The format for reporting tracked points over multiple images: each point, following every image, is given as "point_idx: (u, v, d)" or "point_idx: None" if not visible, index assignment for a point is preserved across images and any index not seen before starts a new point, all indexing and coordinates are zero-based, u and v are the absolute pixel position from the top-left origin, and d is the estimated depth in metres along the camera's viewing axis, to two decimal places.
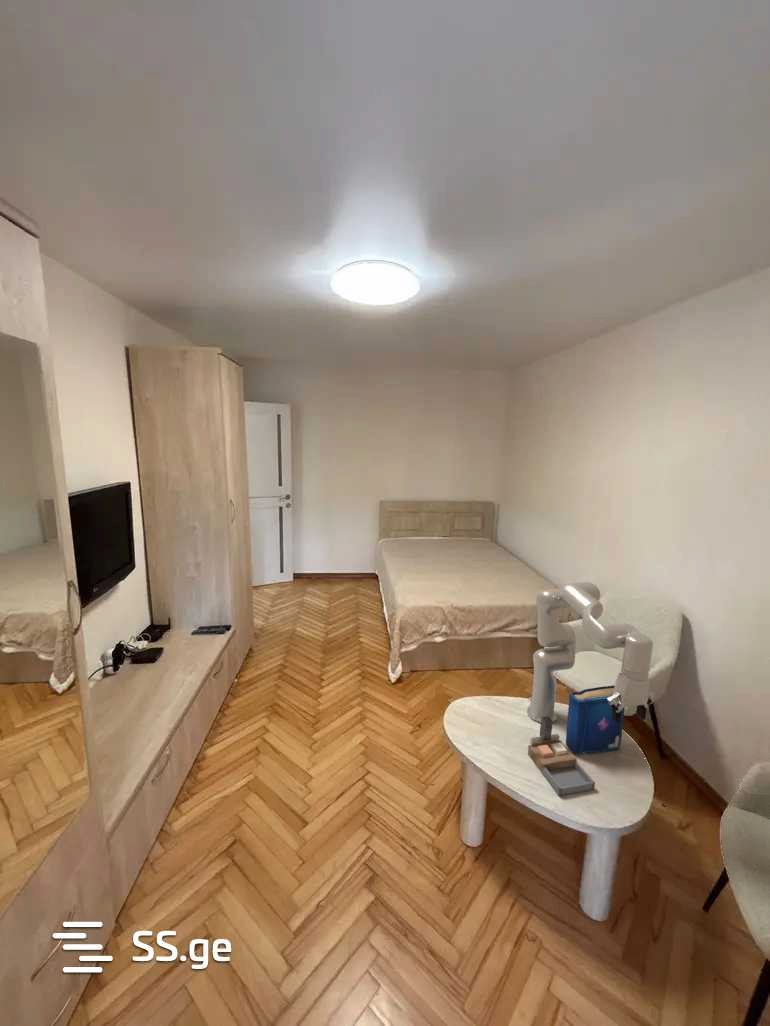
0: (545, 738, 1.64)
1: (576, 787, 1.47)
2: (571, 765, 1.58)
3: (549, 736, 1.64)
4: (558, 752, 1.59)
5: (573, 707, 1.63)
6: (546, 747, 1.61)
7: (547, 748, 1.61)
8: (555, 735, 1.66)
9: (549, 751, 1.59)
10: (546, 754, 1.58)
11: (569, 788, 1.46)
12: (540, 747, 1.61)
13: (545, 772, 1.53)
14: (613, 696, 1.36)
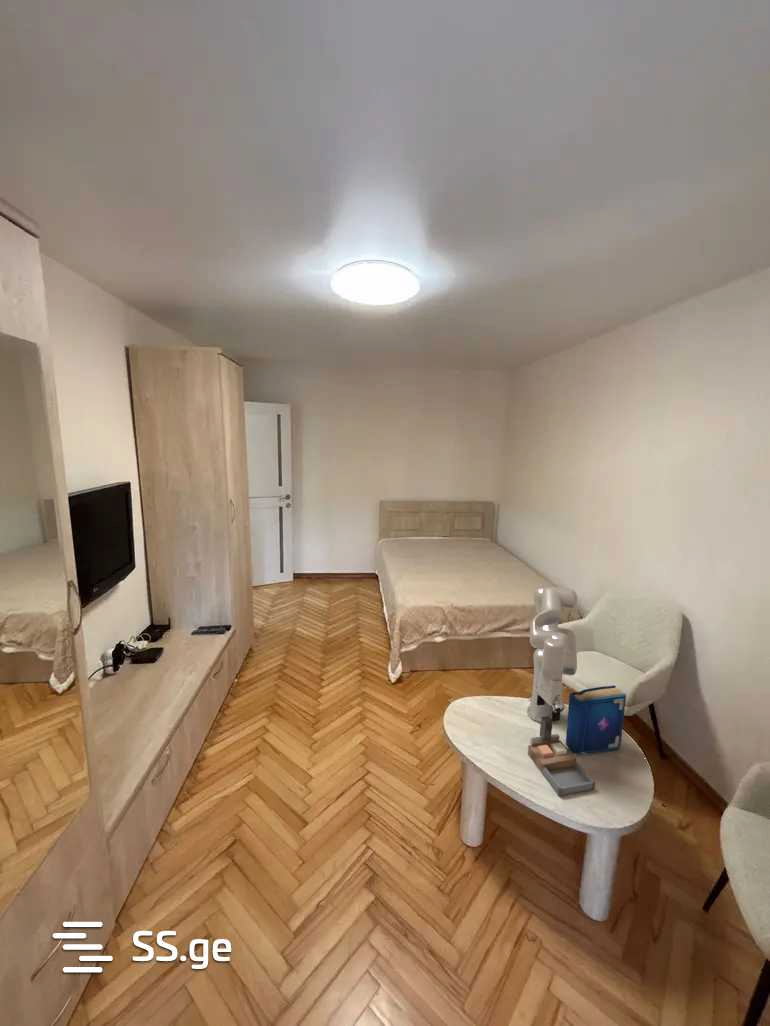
0: (545, 738, 1.64)
1: (576, 787, 1.47)
2: (571, 765, 1.58)
3: (549, 736, 1.64)
4: (558, 752, 1.59)
5: (573, 707, 1.63)
6: (546, 747, 1.61)
7: (547, 748, 1.61)
8: (555, 735, 1.66)
9: (549, 751, 1.59)
10: (546, 754, 1.58)
11: (569, 788, 1.46)
12: (540, 747, 1.61)
13: (545, 772, 1.53)
14: (561, 701, 1.54)
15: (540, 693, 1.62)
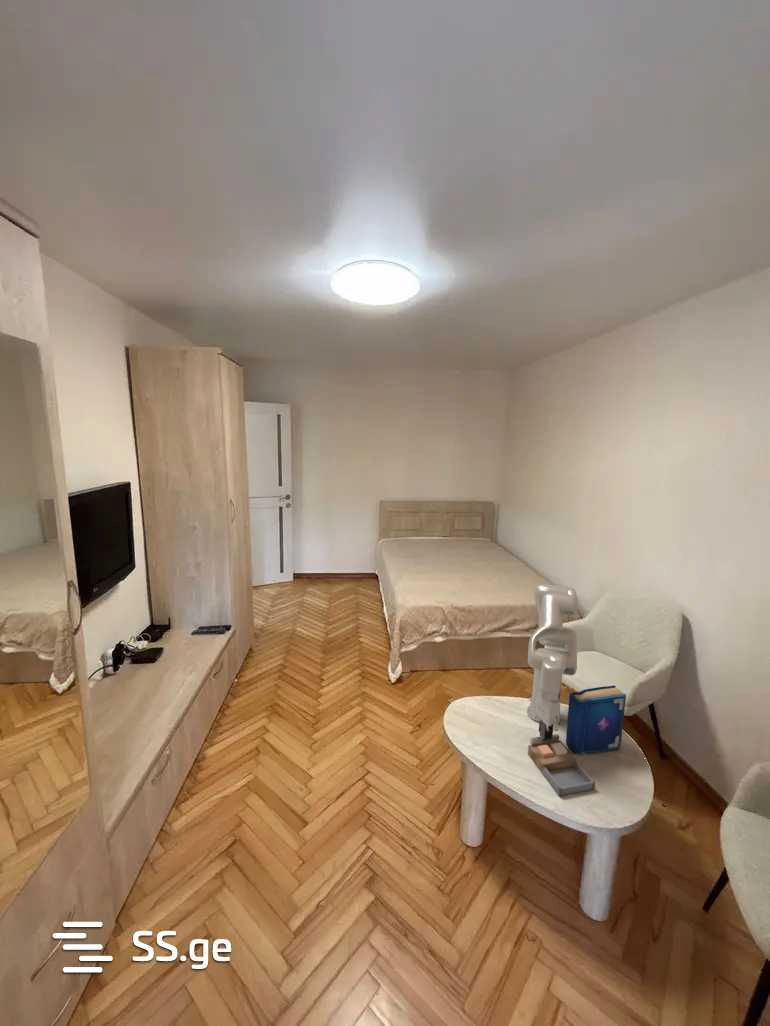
0: None
1: (576, 787, 1.47)
2: (571, 765, 1.58)
3: None
4: (558, 752, 1.59)
5: (573, 707, 1.63)
6: (546, 747, 1.61)
7: (547, 748, 1.61)
8: (555, 735, 1.66)
9: (549, 751, 1.59)
10: (546, 754, 1.58)
11: (569, 788, 1.46)
12: (540, 747, 1.61)
13: (545, 772, 1.53)
14: (556, 724, 1.58)
15: (538, 713, 1.64)
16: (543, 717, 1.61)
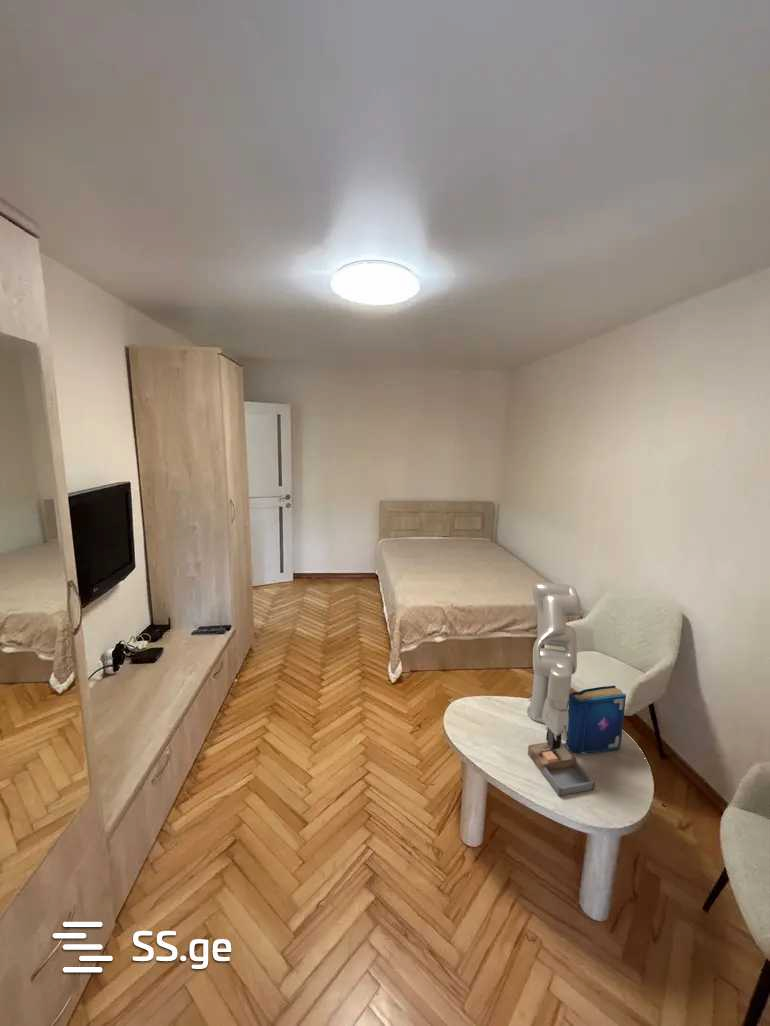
0: None
1: (576, 787, 1.47)
2: (571, 765, 1.58)
3: None
4: (563, 758, 1.57)
5: (573, 707, 1.63)
6: (551, 753, 1.58)
7: (552, 754, 1.58)
8: (563, 744, 1.61)
9: (554, 757, 1.56)
10: (551, 760, 1.55)
11: (569, 788, 1.46)
12: (544, 753, 1.58)
13: (545, 772, 1.53)
14: (564, 734, 1.53)
15: (546, 722, 1.60)
16: (551, 726, 1.56)
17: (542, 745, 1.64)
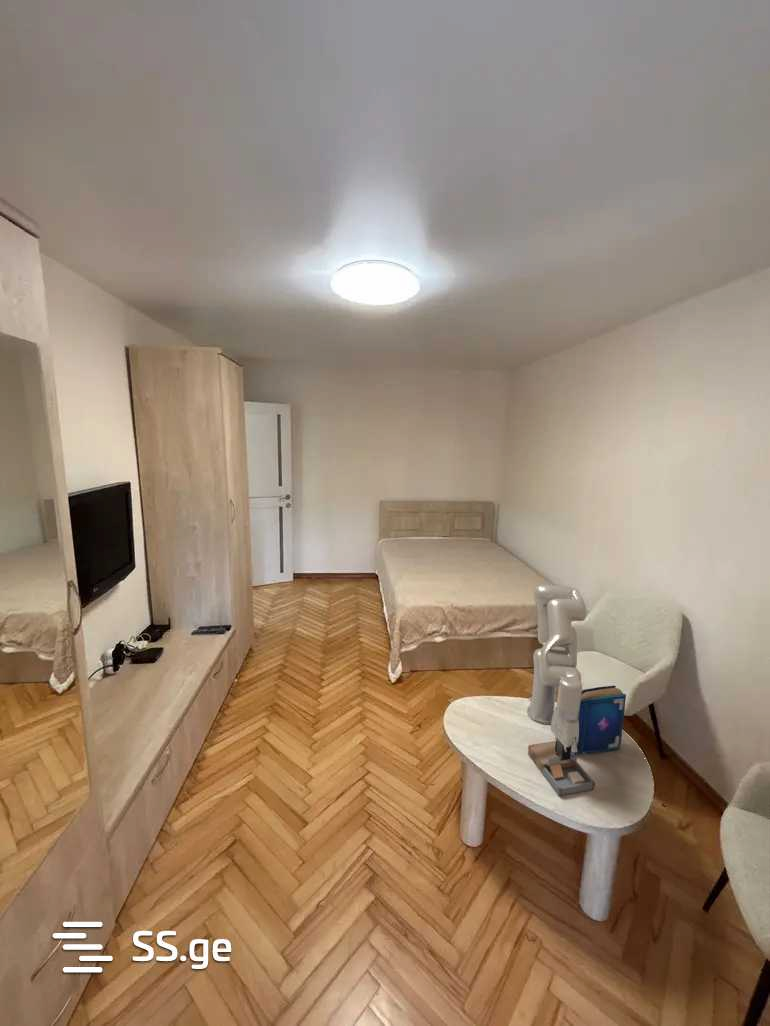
0: None
1: (576, 787, 1.47)
2: (571, 765, 1.58)
3: None
4: None
5: None
6: (559, 768, 1.54)
7: (559, 769, 1.54)
8: (572, 755, 1.56)
9: (560, 774, 1.53)
10: (556, 777, 1.53)
11: (569, 788, 1.46)
12: (553, 767, 1.53)
13: (545, 772, 1.53)
14: (574, 746, 1.48)
15: (555, 732, 1.54)
16: (560, 737, 1.51)
17: (542, 745, 1.64)
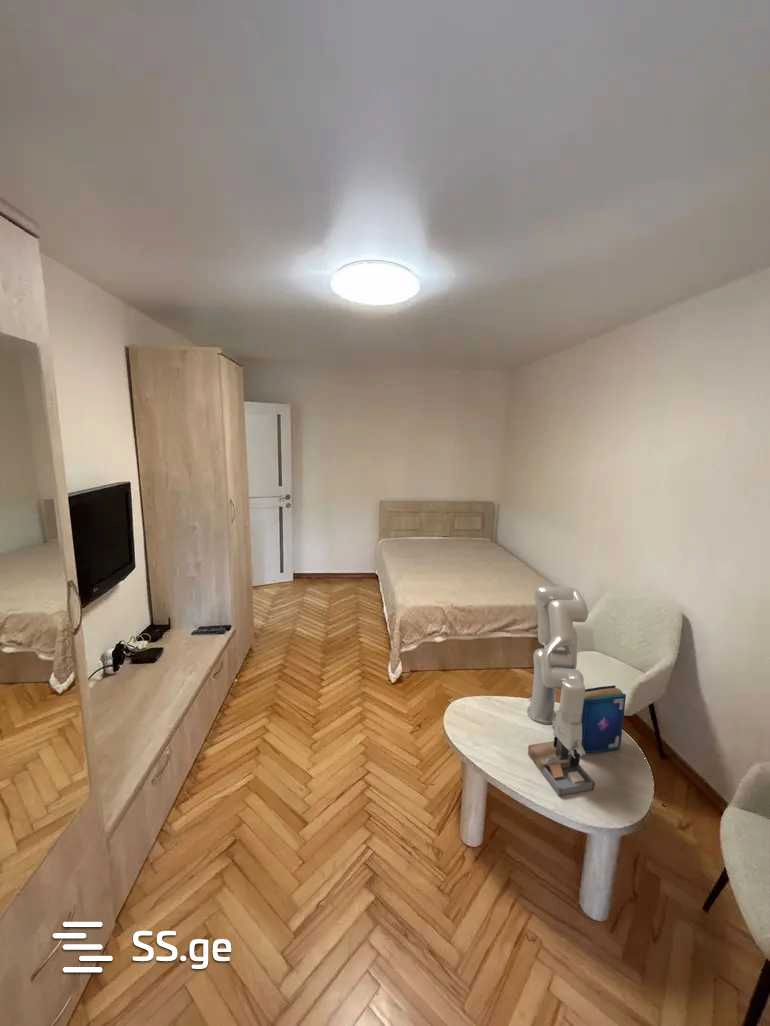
0: (562, 758, 1.54)
1: (576, 787, 1.47)
2: None
3: (566, 756, 1.54)
4: None
5: None
6: (558, 767, 1.54)
7: (559, 769, 1.54)
8: None
9: (560, 774, 1.53)
10: None
11: (569, 788, 1.46)
12: (552, 767, 1.54)
13: (545, 772, 1.53)
14: (580, 747, 1.45)
15: (557, 735, 1.53)
16: (563, 740, 1.49)
17: (542, 745, 1.64)
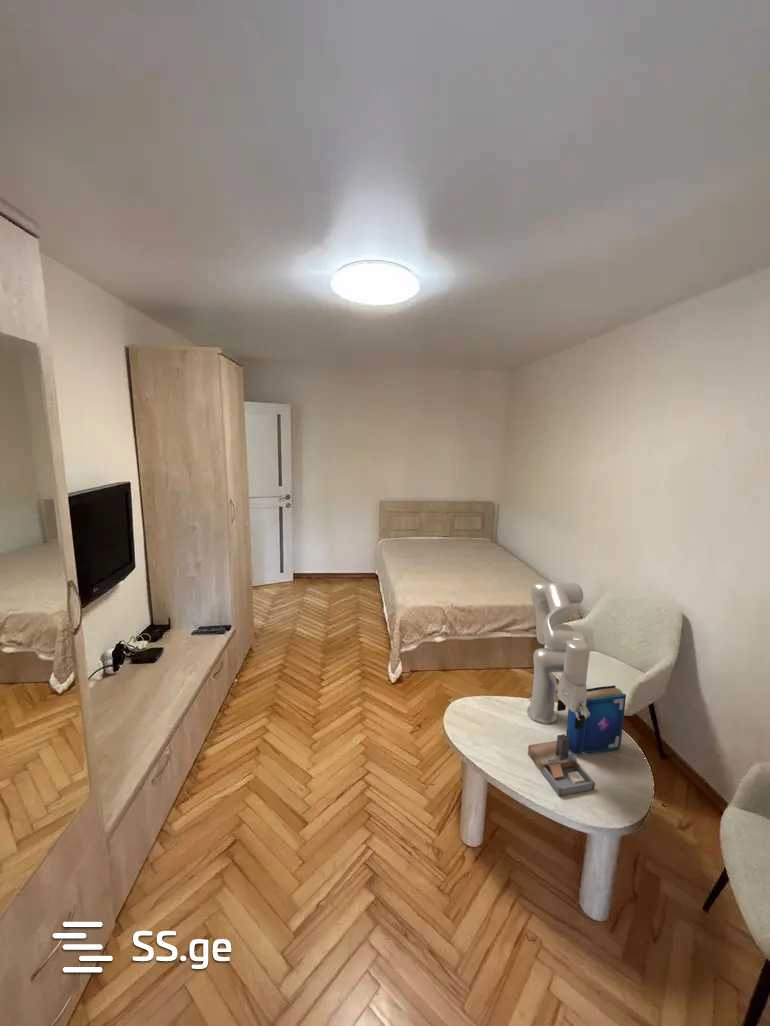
0: (562, 758, 1.54)
1: (576, 787, 1.47)
2: (571, 765, 1.58)
3: (566, 756, 1.54)
4: None
5: None
6: (558, 767, 1.54)
7: (559, 769, 1.54)
8: (572, 754, 1.56)
9: (560, 774, 1.53)
10: None
11: (569, 788, 1.46)
12: (552, 767, 1.54)
13: (545, 772, 1.53)
14: (585, 708, 1.42)
15: (561, 698, 1.50)
16: (567, 702, 1.47)
17: (542, 745, 1.64)
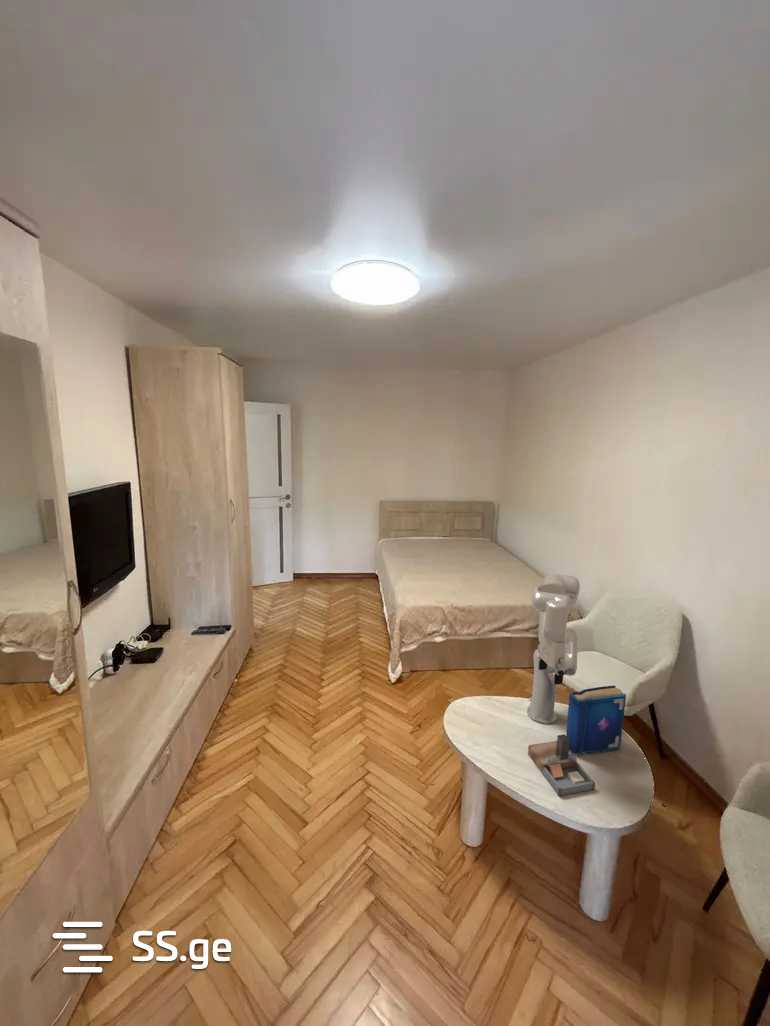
0: (562, 758, 1.54)
1: (576, 787, 1.47)
2: (571, 765, 1.58)
3: (566, 756, 1.54)
4: None
5: (573, 707, 1.63)
6: (558, 767, 1.54)
7: (559, 769, 1.54)
8: (572, 754, 1.56)
9: (560, 774, 1.53)
10: None
11: (569, 788, 1.46)
12: (552, 767, 1.54)
13: (545, 772, 1.53)
14: (564, 663, 1.49)
15: (542, 656, 1.57)
16: (547, 659, 1.54)
17: (542, 745, 1.64)
